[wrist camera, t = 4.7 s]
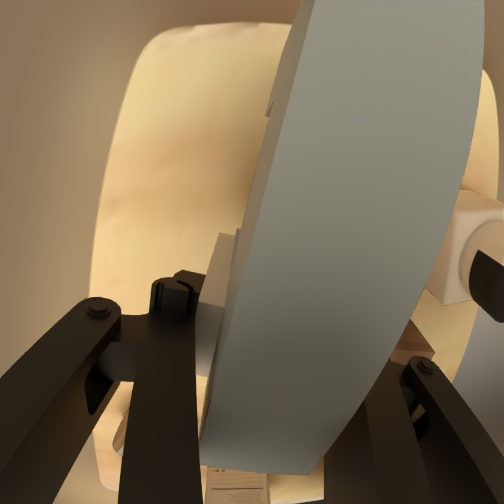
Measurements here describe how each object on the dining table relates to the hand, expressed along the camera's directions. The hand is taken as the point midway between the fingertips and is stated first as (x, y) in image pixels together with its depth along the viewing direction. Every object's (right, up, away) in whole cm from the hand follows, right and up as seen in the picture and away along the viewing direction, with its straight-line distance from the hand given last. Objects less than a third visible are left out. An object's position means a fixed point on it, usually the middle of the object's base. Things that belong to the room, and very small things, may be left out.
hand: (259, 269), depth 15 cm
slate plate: (+1, +4, -1) cm, 4 cm away
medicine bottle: (+17, +3, +9) cm, 19 cm away
